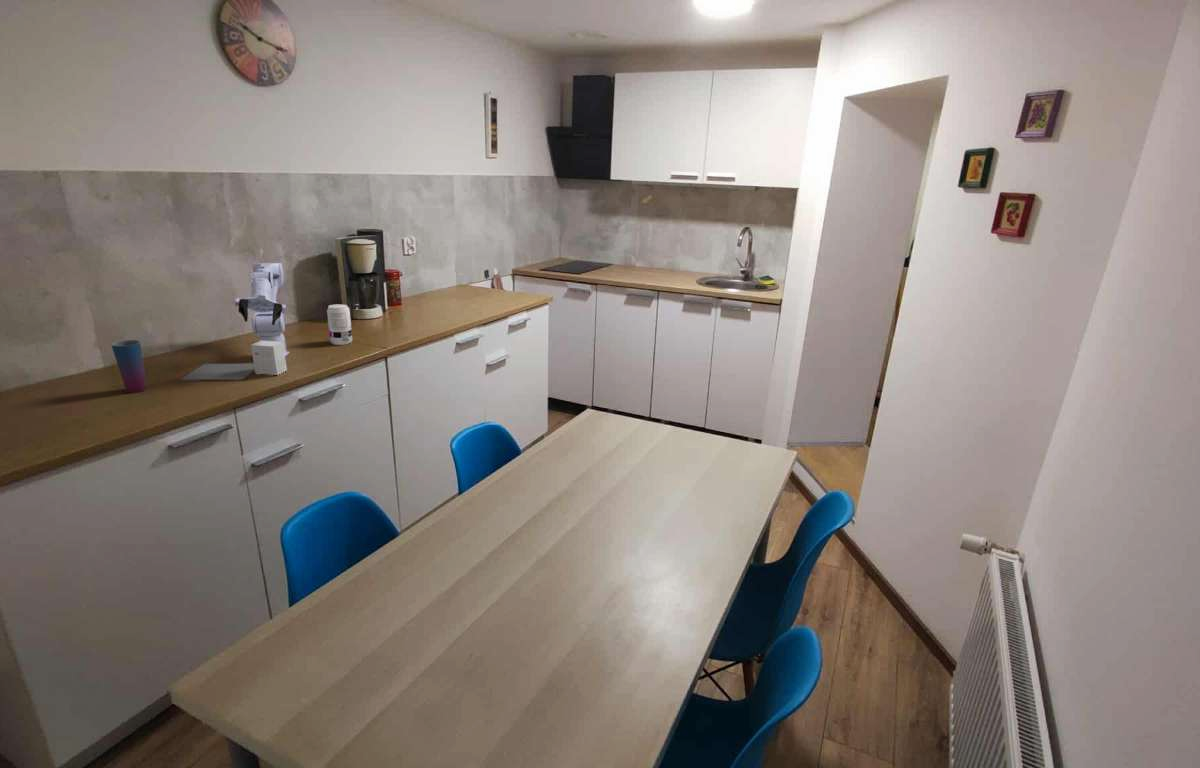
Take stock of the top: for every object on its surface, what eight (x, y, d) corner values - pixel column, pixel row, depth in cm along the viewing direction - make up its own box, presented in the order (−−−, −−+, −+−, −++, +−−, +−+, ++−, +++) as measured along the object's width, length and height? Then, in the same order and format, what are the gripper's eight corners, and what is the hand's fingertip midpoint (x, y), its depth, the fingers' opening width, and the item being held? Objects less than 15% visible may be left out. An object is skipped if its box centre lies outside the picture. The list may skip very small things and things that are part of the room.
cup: (128, 395, 176) (117, 347, 171) (118, 390, 179) (106, 343, 174) (154, 389, 181) (144, 342, 176) (144, 384, 185) (133, 338, 180)
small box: (287, 371, 203) (283, 341, 199) (277, 376, 198) (273, 346, 194) (265, 369, 204) (261, 339, 200) (255, 374, 198) (250, 344, 195)
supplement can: (325, 343, 235) (321, 306, 230) (341, 338, 242) (338, 302, 237) (341, 346, 232) (337, 309, 227) (357, 341, 240) (353, 305, 234)
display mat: (204, 365, 204) (204, 363, 204) (261, 365, 207) (260, 363, 207) (181, 380, 189) (181, 379, 189) (242, 380, 192) (242, 378, 192)
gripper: (237, 282, 193) (234, 307, 184) (286, 290, 201) (286, 314, 192) (235, 299, 197) (232, 325, 188) (284, 306, 205) (284, 331, 196)
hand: (259, 320), depth 191 cm, fingers open, 7 cm apart
